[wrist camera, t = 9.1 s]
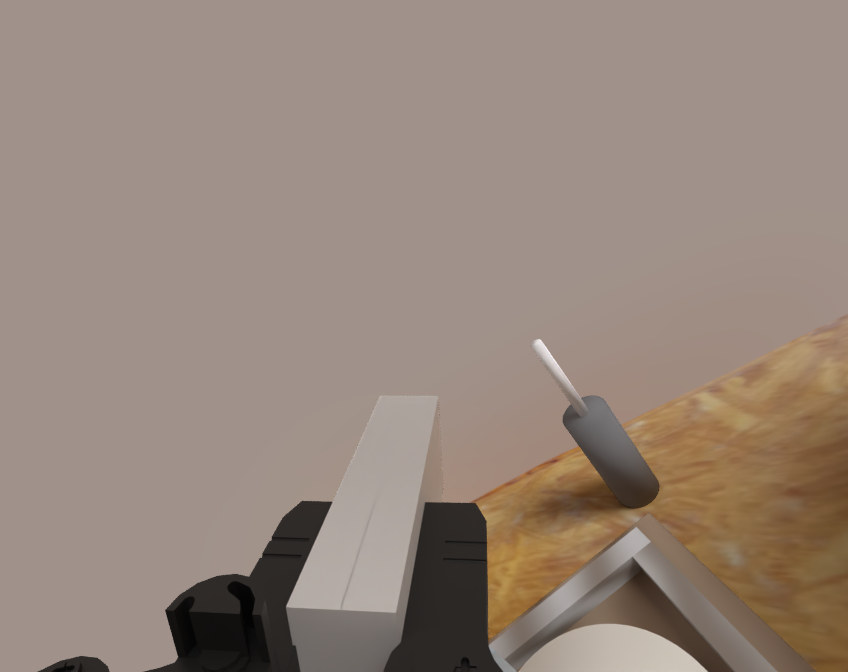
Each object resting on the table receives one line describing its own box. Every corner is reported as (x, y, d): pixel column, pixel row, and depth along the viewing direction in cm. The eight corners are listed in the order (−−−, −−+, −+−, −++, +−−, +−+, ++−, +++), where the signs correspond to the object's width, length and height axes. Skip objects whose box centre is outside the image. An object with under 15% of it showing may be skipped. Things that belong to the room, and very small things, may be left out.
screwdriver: (640, 464, 42) (544, 321, 36) (668, 488, 39) (567, 334, 33) (608, 490, 42) (506, 350, 36) (633, 515, 39) (526, 367, 33)
